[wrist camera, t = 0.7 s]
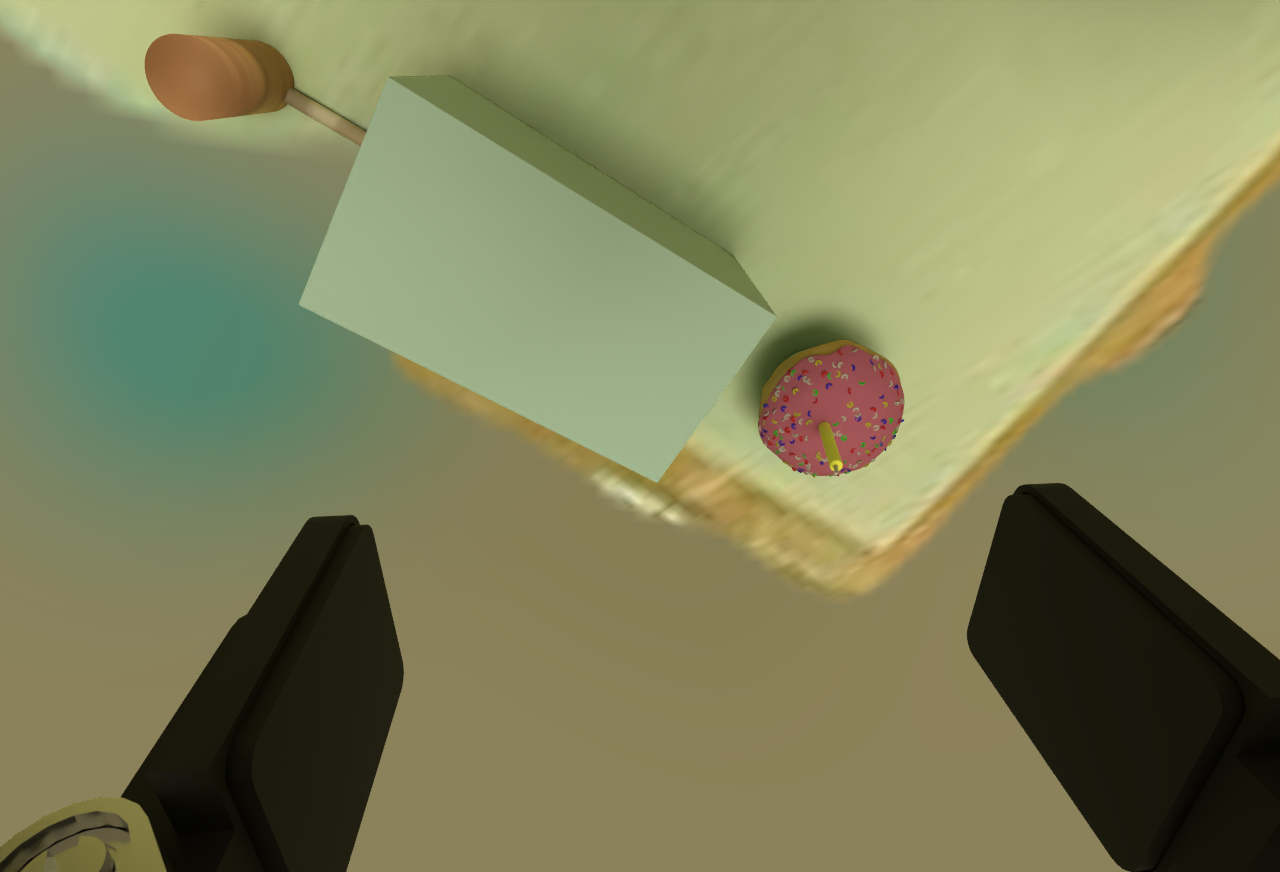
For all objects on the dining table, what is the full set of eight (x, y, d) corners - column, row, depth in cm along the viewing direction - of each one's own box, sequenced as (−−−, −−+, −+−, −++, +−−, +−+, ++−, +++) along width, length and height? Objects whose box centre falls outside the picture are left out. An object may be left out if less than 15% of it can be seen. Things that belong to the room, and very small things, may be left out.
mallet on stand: (246, -3, 33) (164, -20, 26) (658, 250, 39) (668, 283, 33) (211, 114, 35) (128, 124, 29) (606, 334, 42) (607, 380, 36)
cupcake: (733, 431, 45) (773, 541, 35) (760, 310, 41) (814, 391, 31) (855, 442, 46) (930, 552, 36) (893, 325, 42) (989, 409, 32)
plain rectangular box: (448, 75, 35) (388, 77, 25) (733, 255, 40) (777, 316, 30) (376, 244, 38) (298, 304, 29) (644, 389, 44) (657, 482, 34)
